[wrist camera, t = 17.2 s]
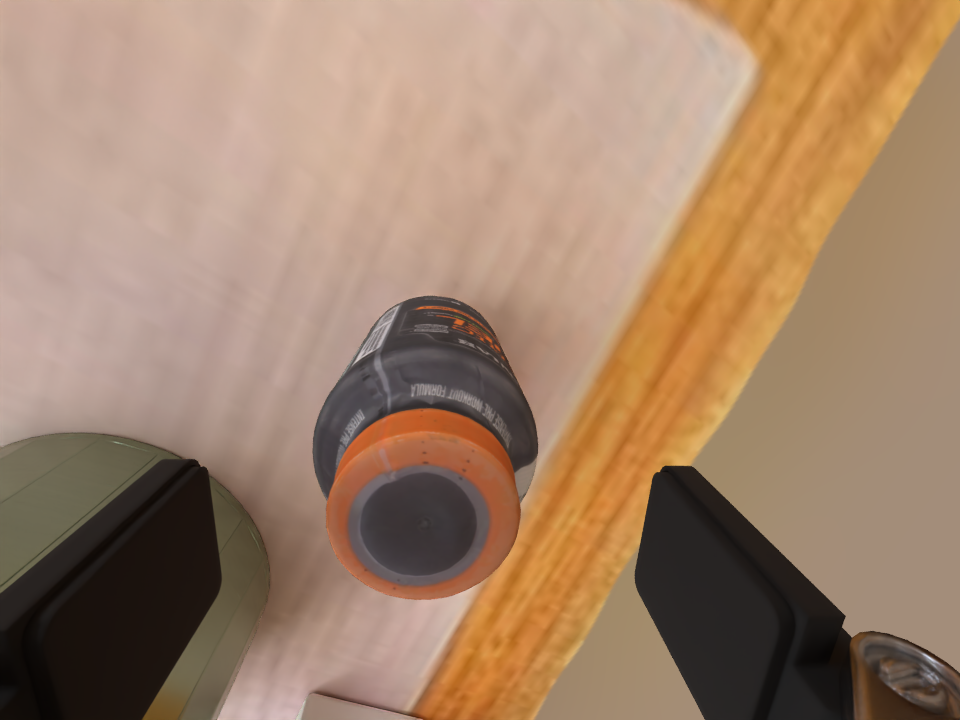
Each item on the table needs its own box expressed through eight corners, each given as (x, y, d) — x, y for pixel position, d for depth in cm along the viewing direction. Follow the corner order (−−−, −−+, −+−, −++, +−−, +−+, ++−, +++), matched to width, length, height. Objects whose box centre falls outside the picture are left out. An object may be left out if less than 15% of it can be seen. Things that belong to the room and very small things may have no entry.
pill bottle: (527, 353, 20) (630, 508, 9) (441, 446, 21) (444, 684, 10) (422, 263, 18) (400, 324, 8) (335, 368, 19) (208, 553, 9)
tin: (-111, 429, 19) (-746, 672, 9) (256, 434, 20) (77, 647, 10) (-18, 690, 23) (-370, 1054, 13) (280, 678, 24) (170, 997, 14)
